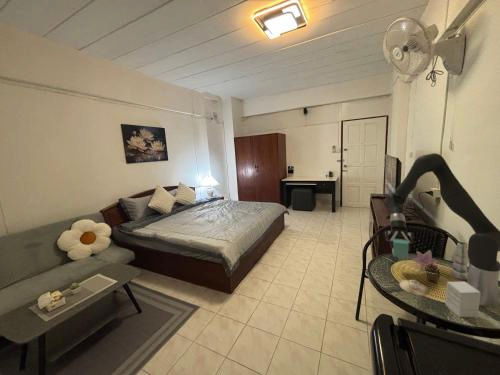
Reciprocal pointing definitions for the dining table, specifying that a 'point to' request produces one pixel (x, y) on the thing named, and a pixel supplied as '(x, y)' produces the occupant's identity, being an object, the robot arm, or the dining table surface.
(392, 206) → the robot arm
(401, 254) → the teal block
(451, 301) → the supplement box
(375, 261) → the dining table surface
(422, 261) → the lily
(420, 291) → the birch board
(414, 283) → the white ceramic ramekin
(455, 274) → the plastic bottle
